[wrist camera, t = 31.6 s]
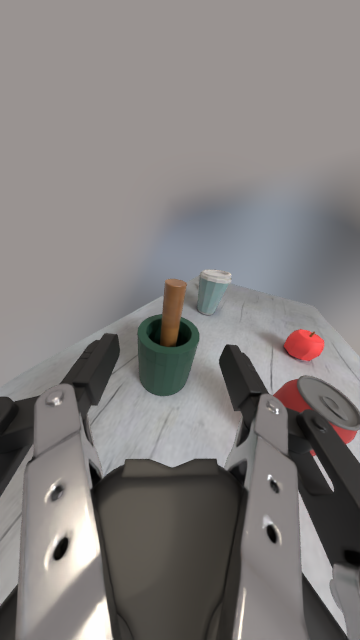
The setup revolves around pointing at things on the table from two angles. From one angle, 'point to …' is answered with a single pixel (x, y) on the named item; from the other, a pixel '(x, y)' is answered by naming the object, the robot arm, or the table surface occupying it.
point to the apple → (304, 345)
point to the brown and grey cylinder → (172, 311)
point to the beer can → (322, 404)
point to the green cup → (165, 356)
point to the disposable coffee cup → (211, 289)
